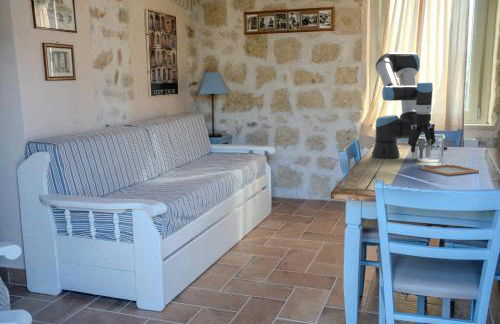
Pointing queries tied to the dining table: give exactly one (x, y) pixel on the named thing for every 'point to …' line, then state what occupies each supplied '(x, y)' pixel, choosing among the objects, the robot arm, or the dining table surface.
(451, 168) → the wooden square frame
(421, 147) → the mechanical component
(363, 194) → the dining table surface
